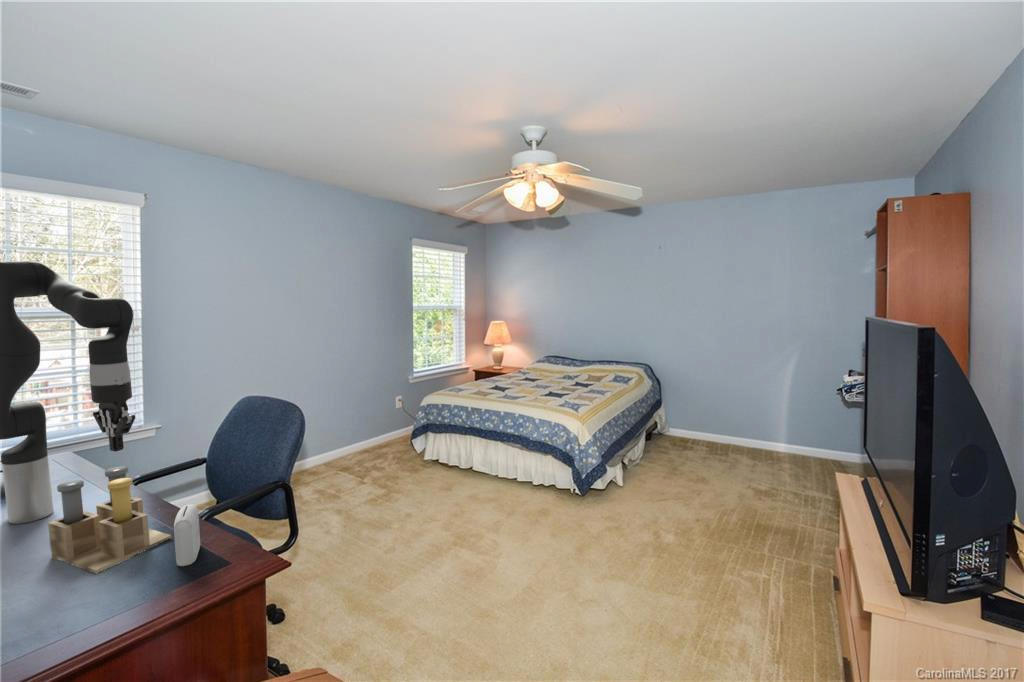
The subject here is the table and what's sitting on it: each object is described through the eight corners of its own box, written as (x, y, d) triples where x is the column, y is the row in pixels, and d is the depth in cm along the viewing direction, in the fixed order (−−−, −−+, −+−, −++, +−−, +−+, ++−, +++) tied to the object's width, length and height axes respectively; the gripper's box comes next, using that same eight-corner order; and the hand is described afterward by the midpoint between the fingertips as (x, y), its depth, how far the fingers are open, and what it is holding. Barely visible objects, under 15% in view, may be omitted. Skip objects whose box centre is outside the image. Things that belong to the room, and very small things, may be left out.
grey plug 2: (103, 507, 127) (100, 471, 125) (124, 500, 131) (121, 465, 130) (115, 511, 125) (111, 474, 124) (135, 503, 129) (132, 467, 128)
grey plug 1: (56, 525, 117) (52, 486, 116) (80, 516, 122) (76, 478, 121) (68, 529, 116) (64, 489, 114) (91, 520, 120) (87, 482, 119)
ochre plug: (106, 522, 118) (102, 483, 117) (127, 513, 122) (124, 476, 121) (118, 526, 116) (115, 487, 115) (139, 517, 121) (136, 479, 120)
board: (51, 557, 118) (48, 522, 117) (128, 525, 133) (125, 494, 132) (96, 574, 111) (92, 537, 110) (171, 538, 127) (168, 506, 126)
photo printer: (182, 547, 123) (179, 501, 121) (202, 543, 125) (199, 498, 123) (174, 568, 114) (170, 519, 112) (195, 564, 115) (192, 516, 114)
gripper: (75, 381, 114) (82, 451, 116) (109, 386, 109) (116, 459, 111) (111, 376, 121) (117, 442, 123) (145, 380, 116) (150, 449, 118)
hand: (117, 450), depth 117 cm, fingers closed
